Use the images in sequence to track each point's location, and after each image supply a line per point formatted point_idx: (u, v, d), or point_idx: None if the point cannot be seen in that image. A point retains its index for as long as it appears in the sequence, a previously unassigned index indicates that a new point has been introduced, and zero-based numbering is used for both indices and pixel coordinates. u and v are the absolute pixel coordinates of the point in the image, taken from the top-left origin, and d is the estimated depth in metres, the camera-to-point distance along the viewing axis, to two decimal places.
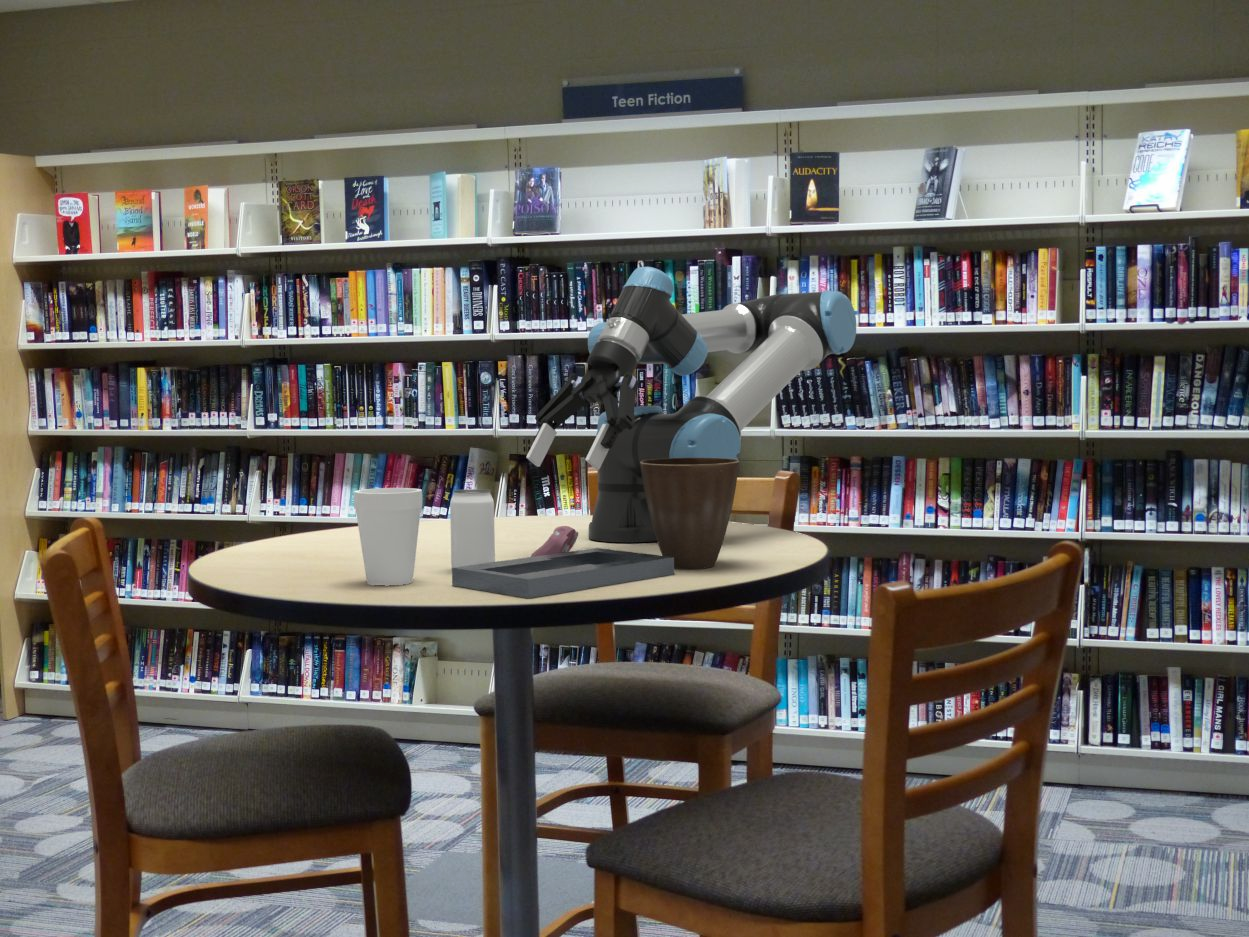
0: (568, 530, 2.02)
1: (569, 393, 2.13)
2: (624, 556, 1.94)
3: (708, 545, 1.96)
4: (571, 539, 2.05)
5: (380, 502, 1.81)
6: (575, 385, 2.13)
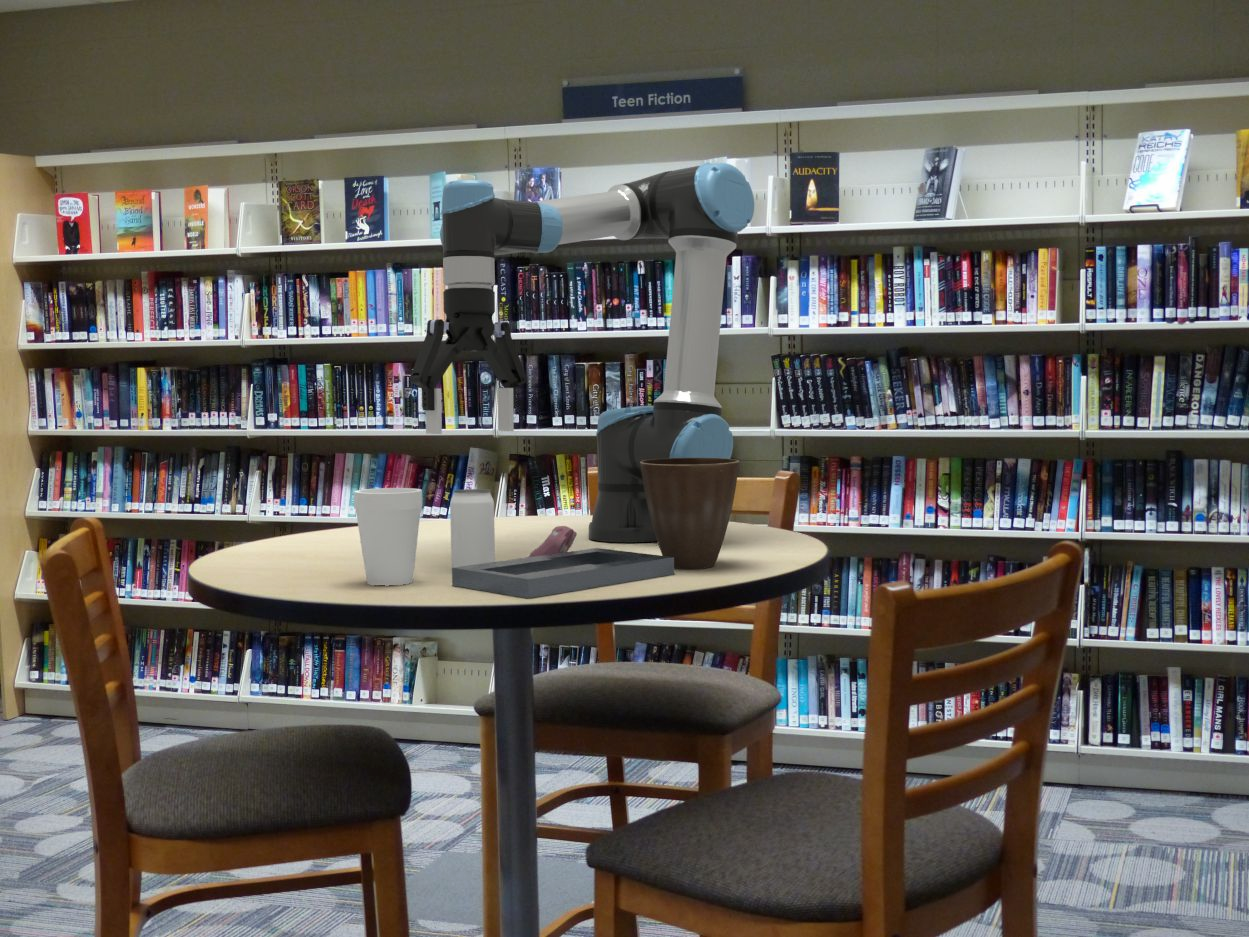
0: (566, 531, 2.02)
1: (501, 344, 1.99)
2: (624, 556, 1.94)
3: (708, 545, 1.96)
4: (569, 539, 2.05)
5: (380, 502, 1.81)
6: None
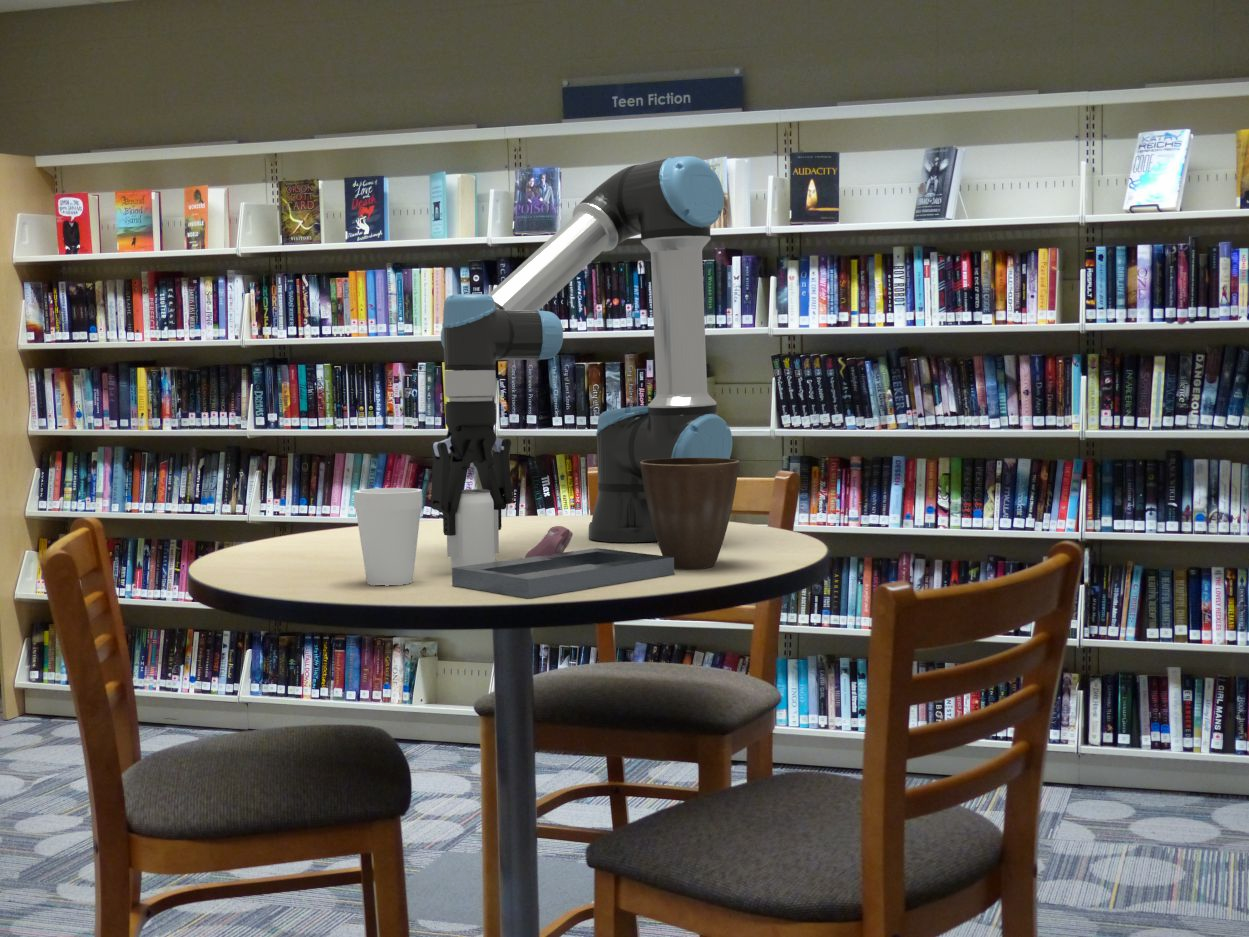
0: (562, 531, 2.02)
1: (497, 459, 2.00)
2: (624, 556, 1.94)
3: (708, 545, 1.96)
4: (565, 539, 2.06)
5: (380, 502, 1.81)
6: None
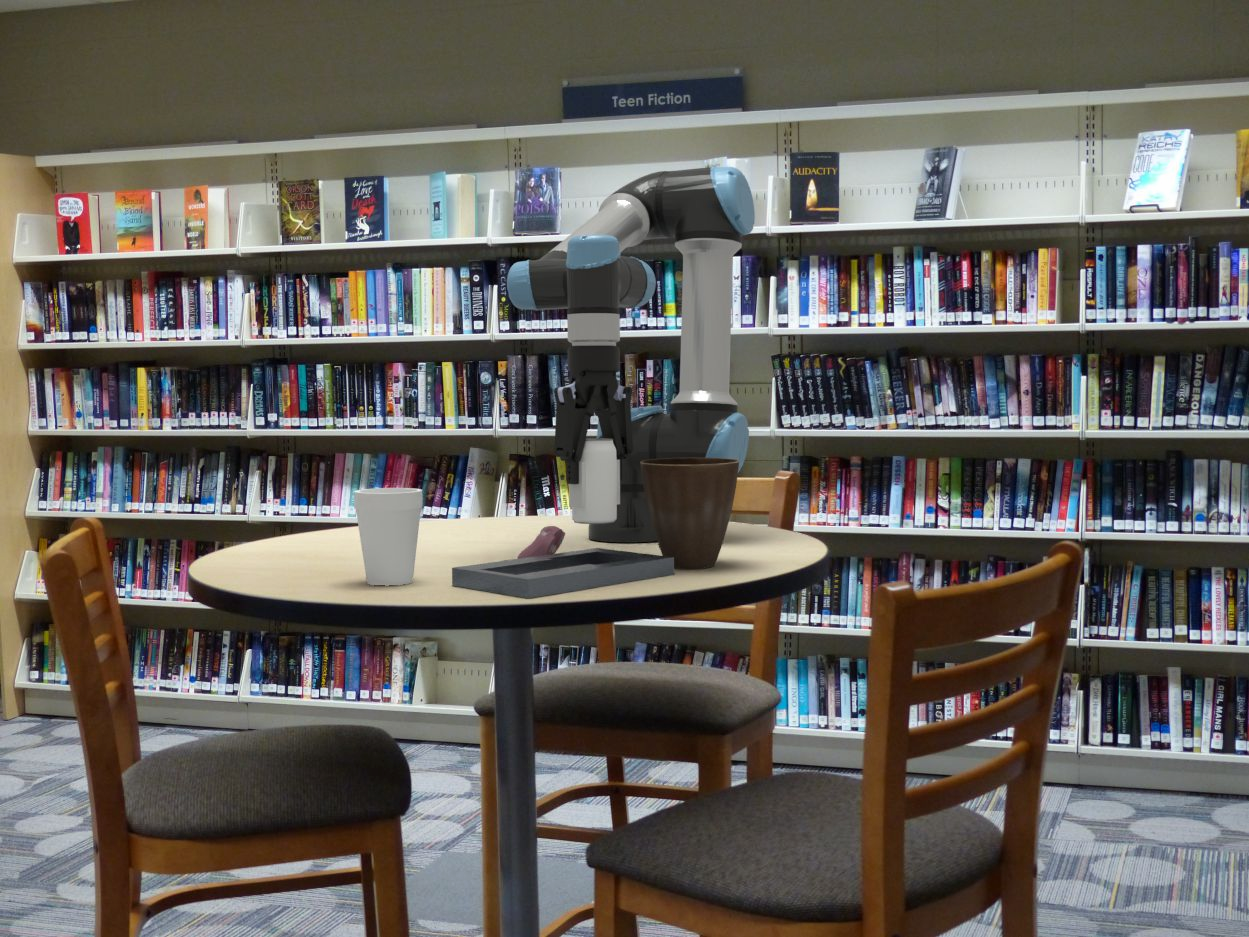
0: (555, 531, 2.03)
1: (618, 408, 1.93)
2: (624, 556, 1.94)
3: (708, 545, 1.96)
4: (558, 539, 2.06)
5: (380, 502, 1.81)
6: None
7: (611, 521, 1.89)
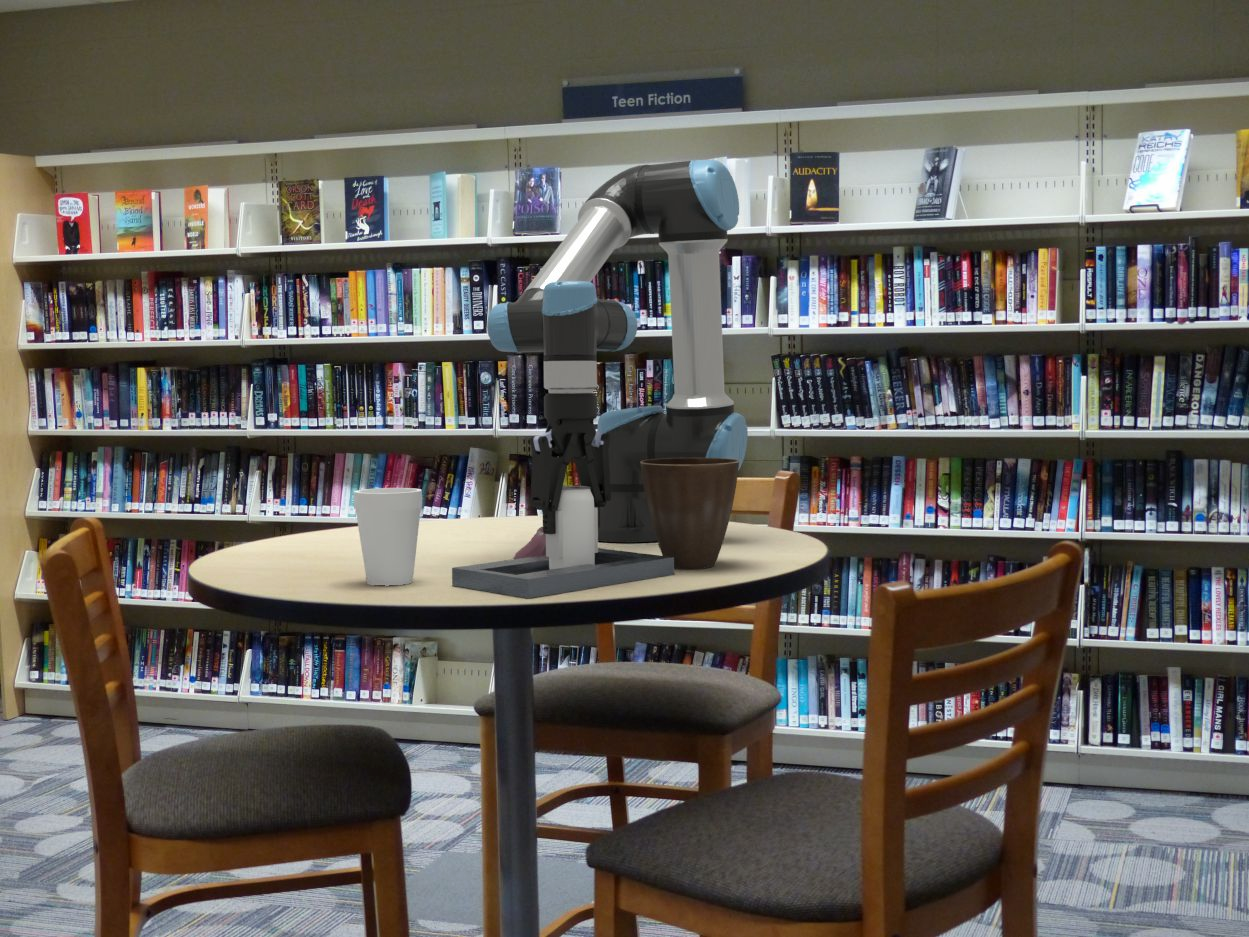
0: None
1: (596, 454, 1.91)
2: (624, 556, 1.94)
3: (708, 545, 1.96)
4: None
5: (380, 502, 1.81)
6: (592, 443, 1.90)
7: None
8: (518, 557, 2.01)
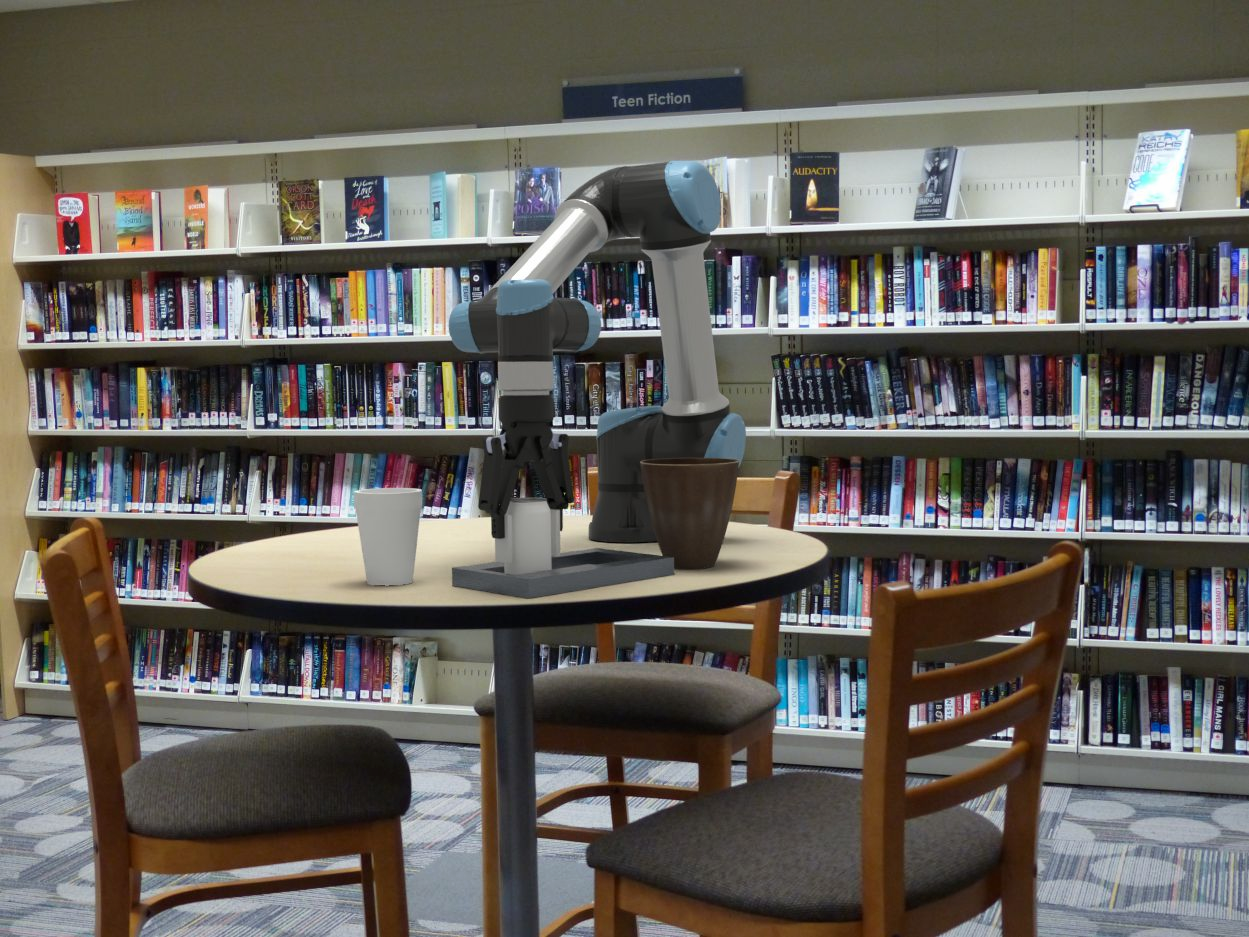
0: None
1: (555, 456, 1.85)
2: (624, 556, 1.94)
3: (708, 545, 1.96)
4: None
5: (380, 502, 1.81)
6: None
7: None
8: None
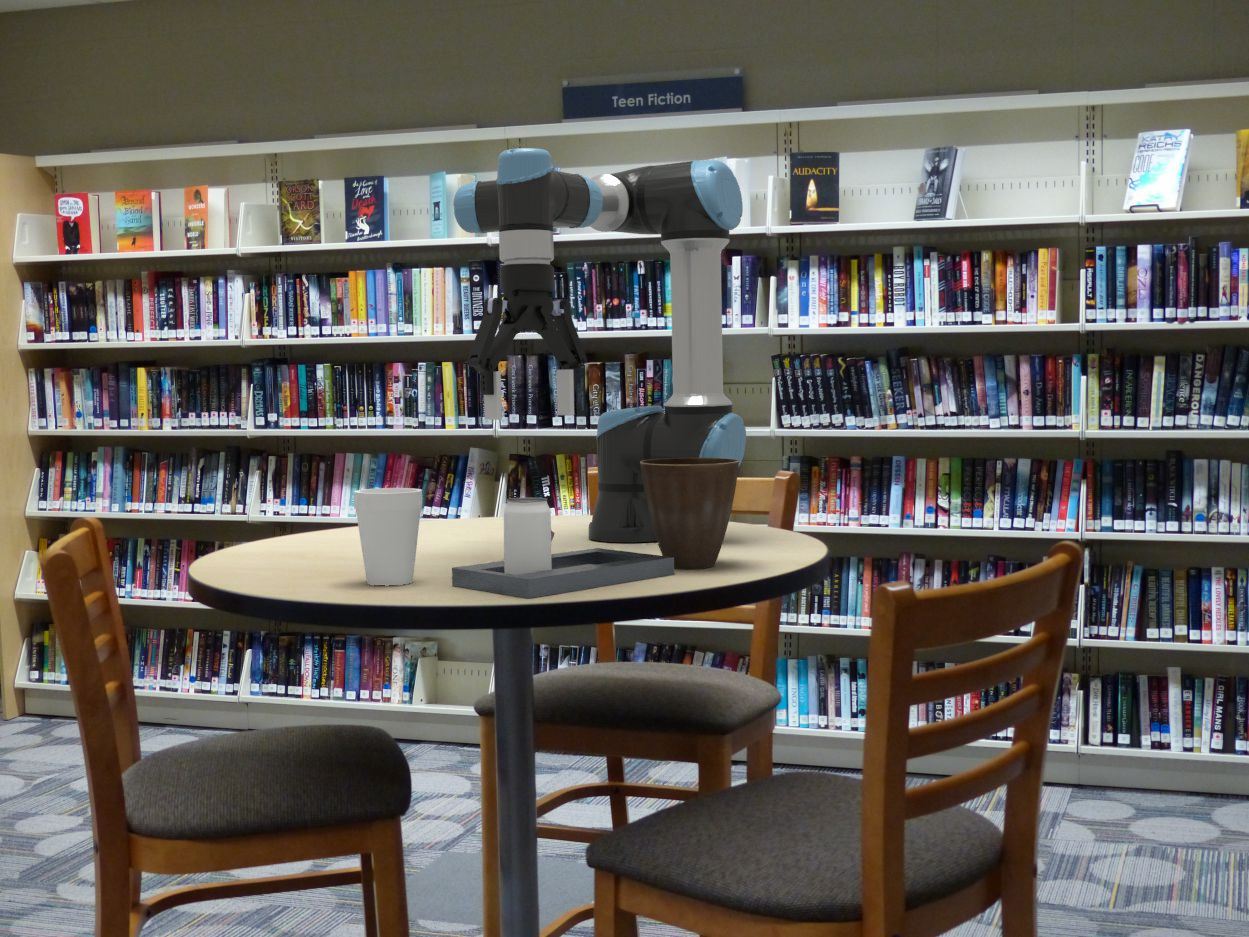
0: None
1: (560, 323, 1.88)
2: (624, 556, 1.94)
3: (708, 545, 1.96)
4: None
5: (380, 502, 1.81)
6: (553, 313, 1.87)
7: None
8: None
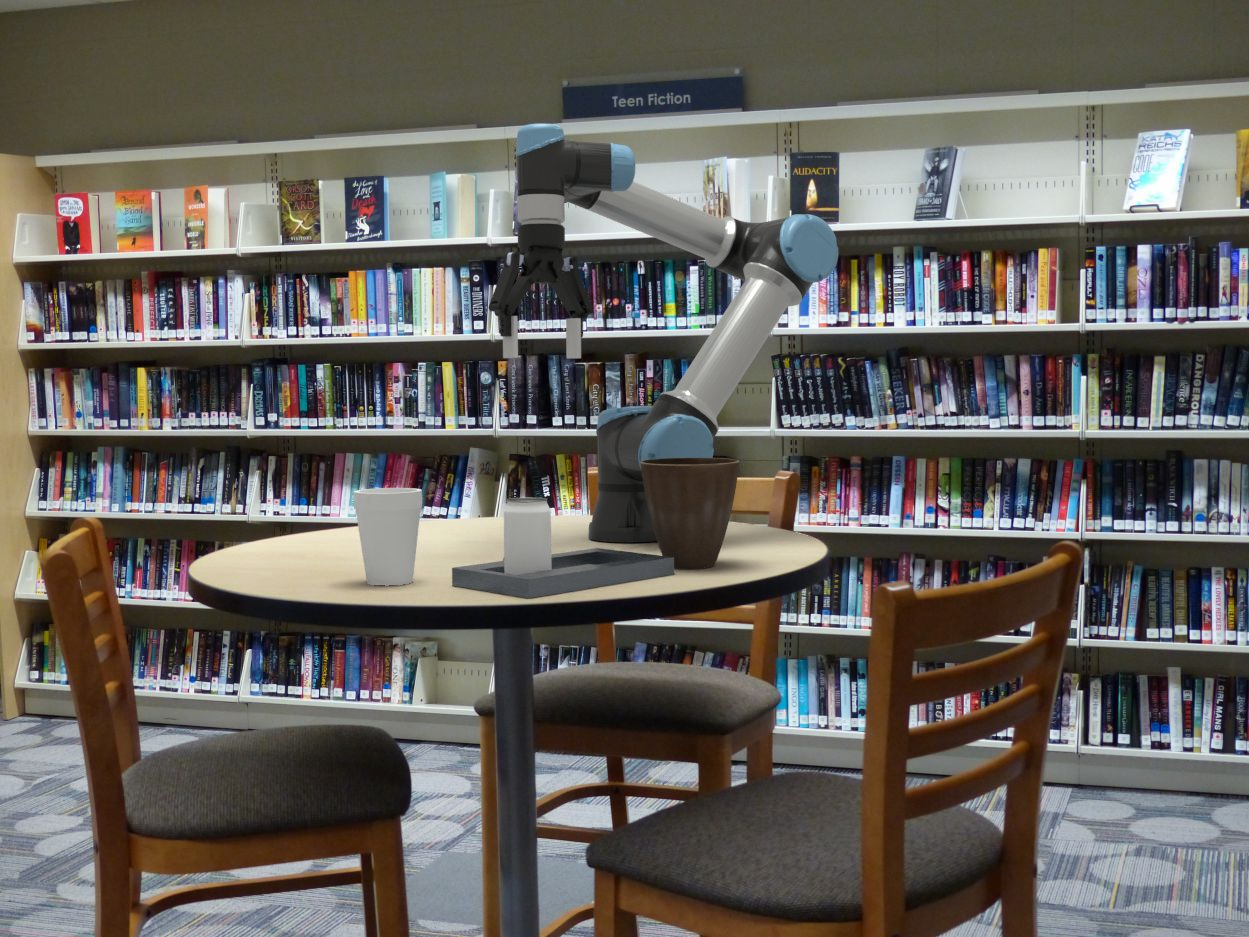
0: None
1: (569, 277, 2.15)
2: (624, 556, 1.94)
3: (708, 545, 1.96)
4: None
5: (380, 502, 1.81)
6: (563, 269, 2.15)
7: None
8: None
